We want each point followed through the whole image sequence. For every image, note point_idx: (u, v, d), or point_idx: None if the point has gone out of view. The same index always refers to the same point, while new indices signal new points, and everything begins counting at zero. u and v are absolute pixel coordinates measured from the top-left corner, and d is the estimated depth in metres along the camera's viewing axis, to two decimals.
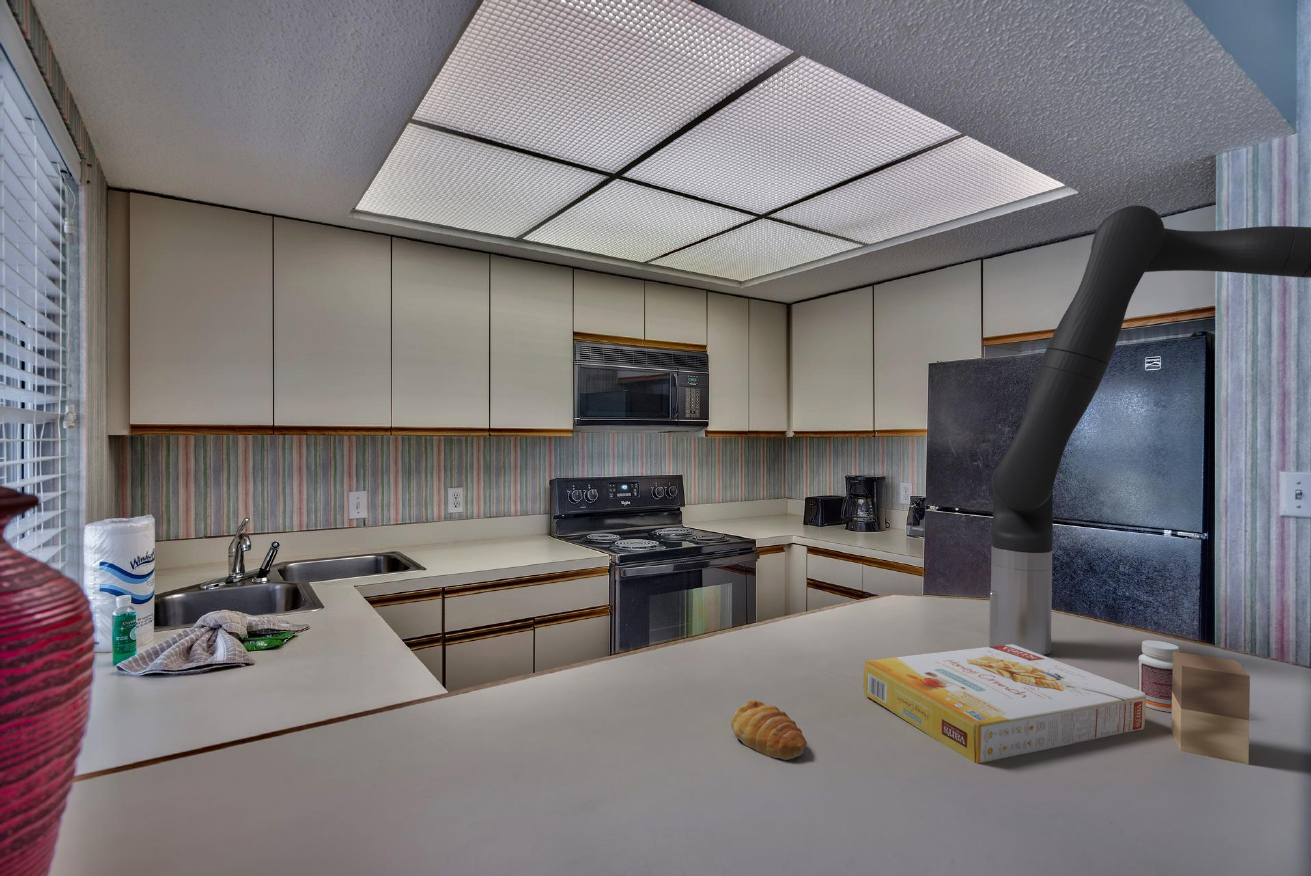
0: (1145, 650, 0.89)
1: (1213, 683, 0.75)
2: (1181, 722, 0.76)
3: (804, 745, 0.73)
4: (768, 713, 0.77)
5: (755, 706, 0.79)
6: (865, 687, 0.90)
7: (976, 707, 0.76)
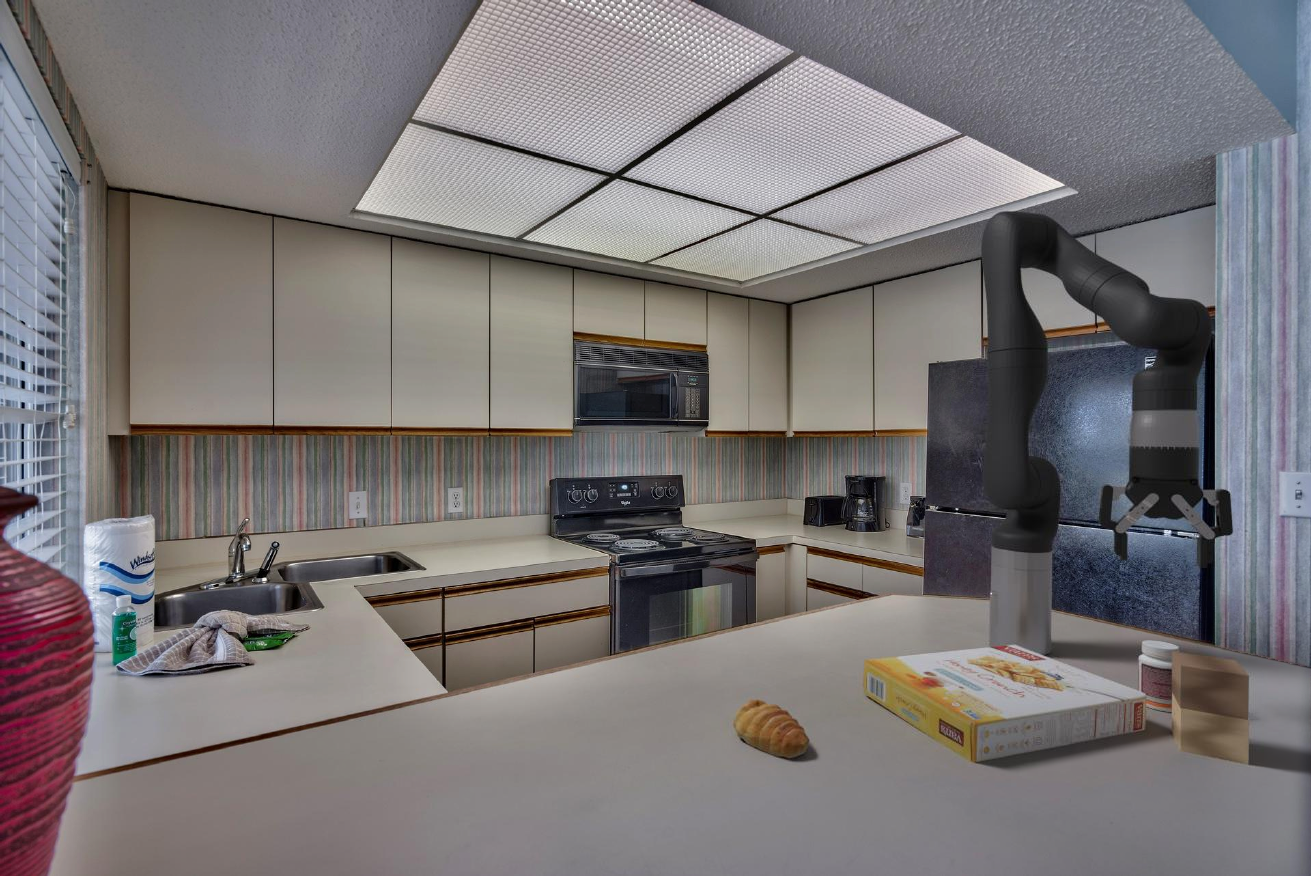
0: (1145, 650, 0.89)
1: (1212, 683, 0.75)
2: (1181, 722, 0.76)
3: (807, 743, 0.74)
4: (770, 712, 0.77)
5: (757, 705, 0.80)
6: (865, 686, 0.91)
7: (973, 706, 0.76)
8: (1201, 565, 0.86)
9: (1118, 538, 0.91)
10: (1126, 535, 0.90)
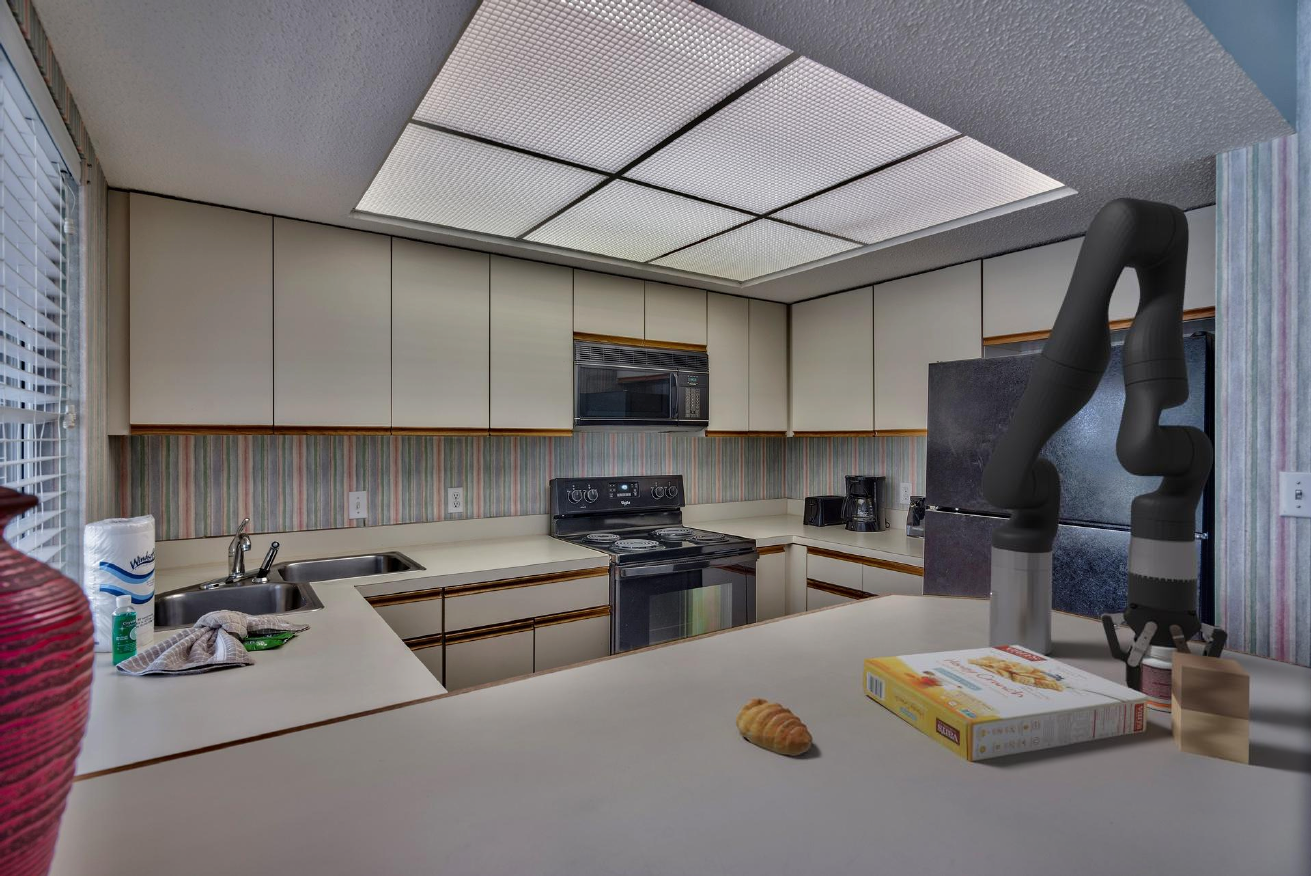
0: None
1: (1213, 683, 0.75)
2: (1181, 722, 0.76)
3: (811, 741, 0.74)
4: (773, 710, 0.78)
5: (759, 704, 0.80)
6: (864, 685, 0.91)
7: (970, 706, 0.77)
8: None
9: (1130, 670, 0.90)
10: (1138, 668, 0.89)
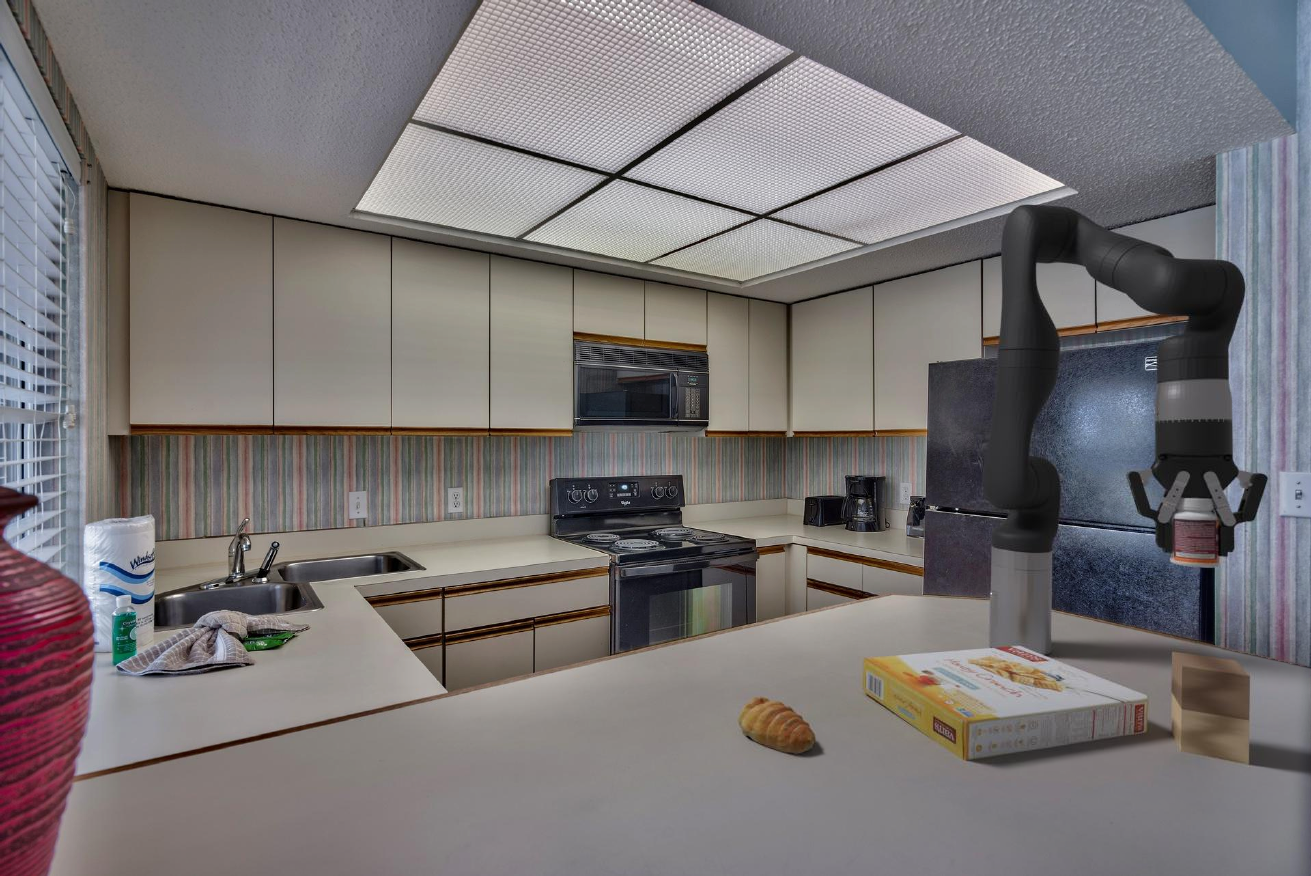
0: (1177, 504, 0.82)
1: (1213, 684, 0.75)
2: (1181, 722, 0.76)
3: (814, 739, 0.75)
4: (776, 709, 0.78)
5: (761, 702, 0.81)
6: (864, 684, 0.91)
7: (967, 705, 0.77)
8: (1221, 554, 0.79)
9: (1161, 528, 0.83)
10: (1170, 525, 0.82)
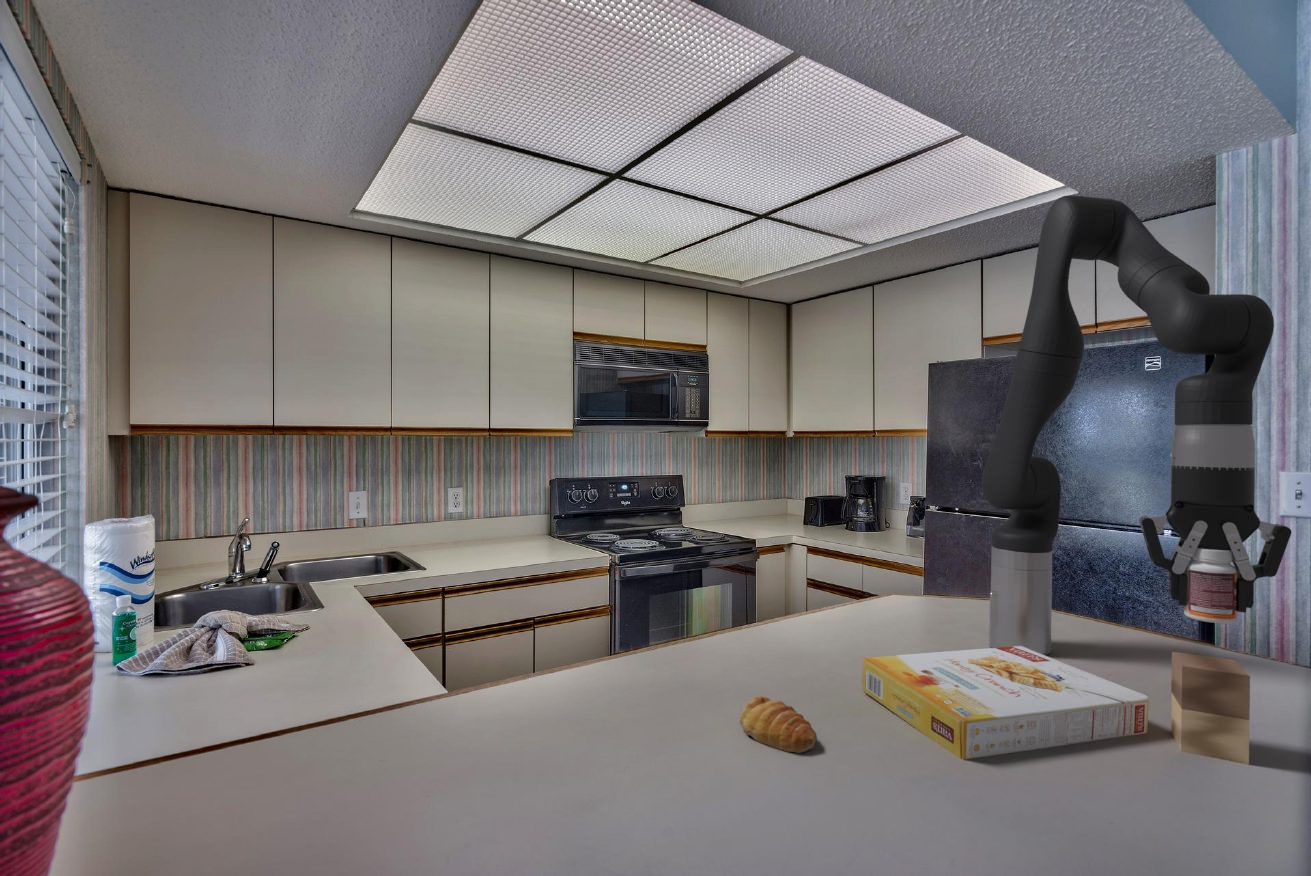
0: (1193, 555, 0.77)
1: (1213, 683, 0.75)
2: (1181, 722, 0.76)
3: (815, 737, 0.75)
4: (777, 708, 0.79)
5: (762, 702, 0.81)
6: (863, 684, 0.92)
7: (965, 704, 0.77)
8: (1239, 610, 0.75)
9: (1175, 579, 0.78)
10: (1185, 576, 0.77)
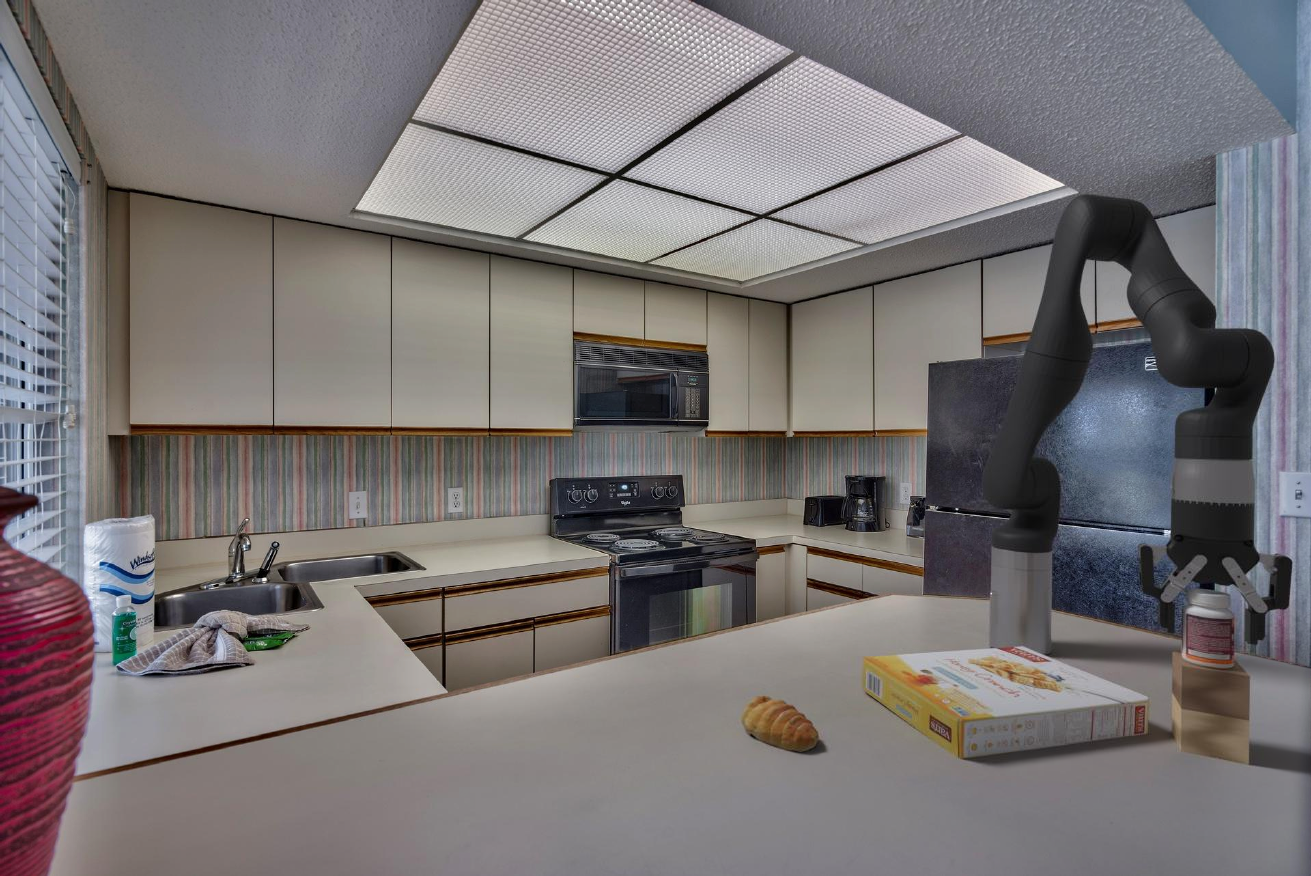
0: (1190, 599, 0.77)
1: (1213, 683, 0.75)
2: (1181, 722, 0.76)
3: (817, 736, 0.75)
4: (779, 707, 0.79)
5: (764, 701, 0.81)
6: (863, 683, 0.92)
7: (963, 704, 0.77)
8: (1251, 642, 0.74)
9: (1163, 608, 0.79)
10: (1173, 605, 0.78)
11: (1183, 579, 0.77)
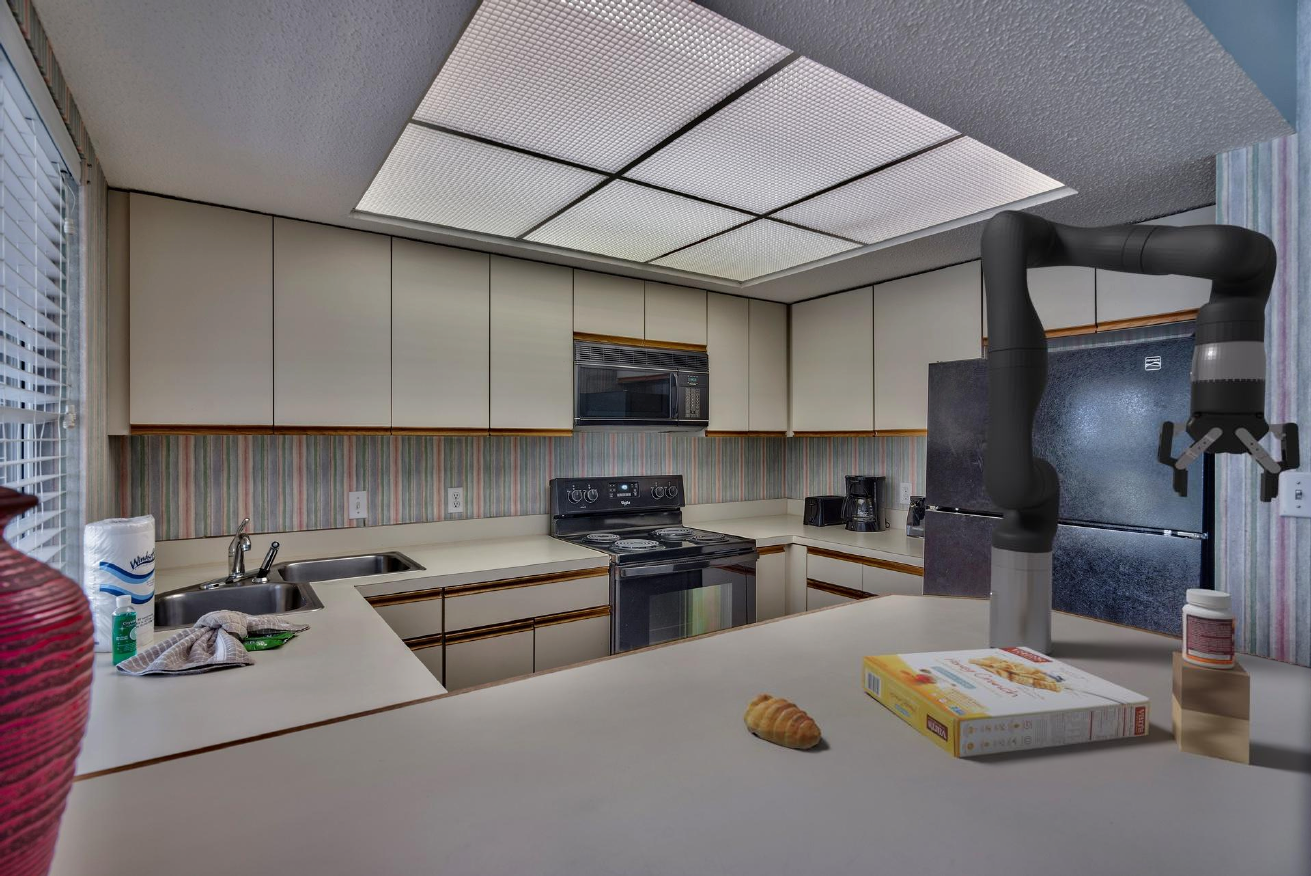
0: (1191, 599, 0.77)
1: (1213, 684, 0.75)
2: (1181, 722, 0.76)
3: (820, 734, 0.76)
4: (781, 705, 0.79)
5: (765, 699, 0.81)
6: (863, 682, 0.92)
7: (960, 703, 0.77)
8: (1265, 500, 0.85)
9: (1178, 475, 0.90)
10: (1186, 471, 0.89)
11: (1198, 449, 0.88)
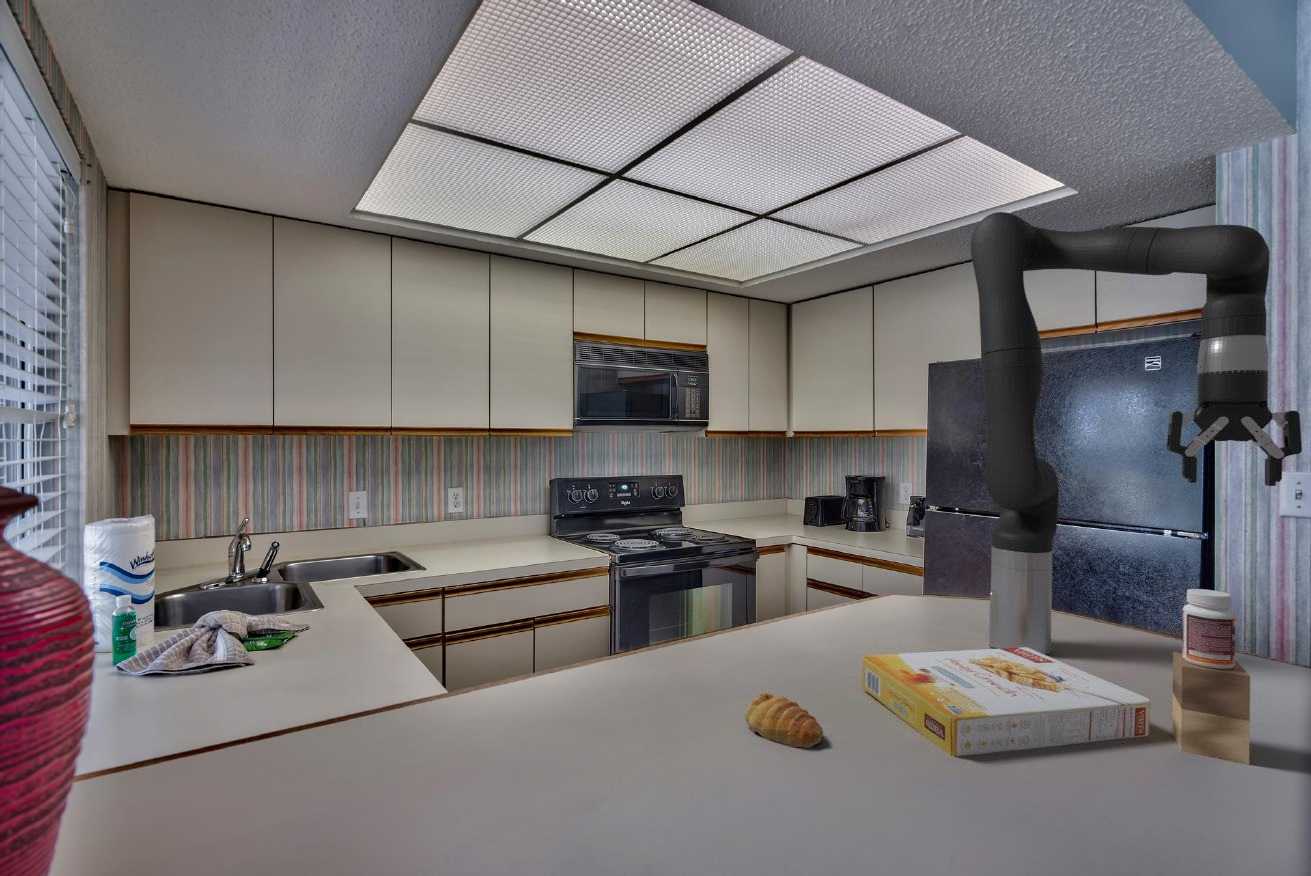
0: (1191, 599, 0.77)
1: (1213, 684, 0.75)
2: (1181, 722, 0.76)
3: (822, 732, 0.76)
4: (783, 704, 0.80)
5: (767, 698, 0.82)
6: (863, 681, 0.93)
7: (958, 702, 0.77)
8: (1270, 484, 0.90)
9: (1187, 462, 0.95)
10: (1195, 458, 0.94)
11: (1206, 437, 0.93)
